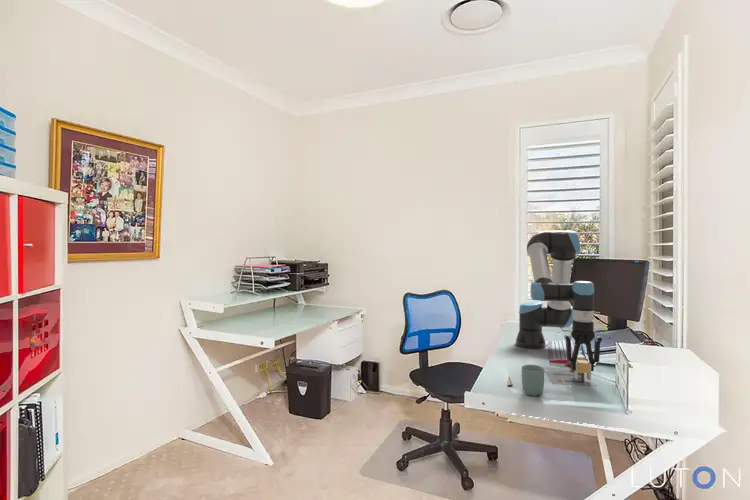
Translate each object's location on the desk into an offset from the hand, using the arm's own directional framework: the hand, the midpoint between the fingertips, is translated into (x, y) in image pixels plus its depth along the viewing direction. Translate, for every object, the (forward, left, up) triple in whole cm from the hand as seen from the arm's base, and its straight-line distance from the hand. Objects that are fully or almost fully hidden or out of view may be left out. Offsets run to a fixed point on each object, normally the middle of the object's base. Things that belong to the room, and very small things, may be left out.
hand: (582, 378), depth 161 cm
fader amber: (0, 0, -1) cm, 1 cm away
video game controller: (-17, +2, -3) cm, 17 cm away
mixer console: (-4, -4, -3) cm, 6 cm away
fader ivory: (-8, +1, -1) cm, 8 cm away
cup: (+13, -21, -3) cm, 25 cm away
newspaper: (-5, -24, -4) cm, 25 cm away
